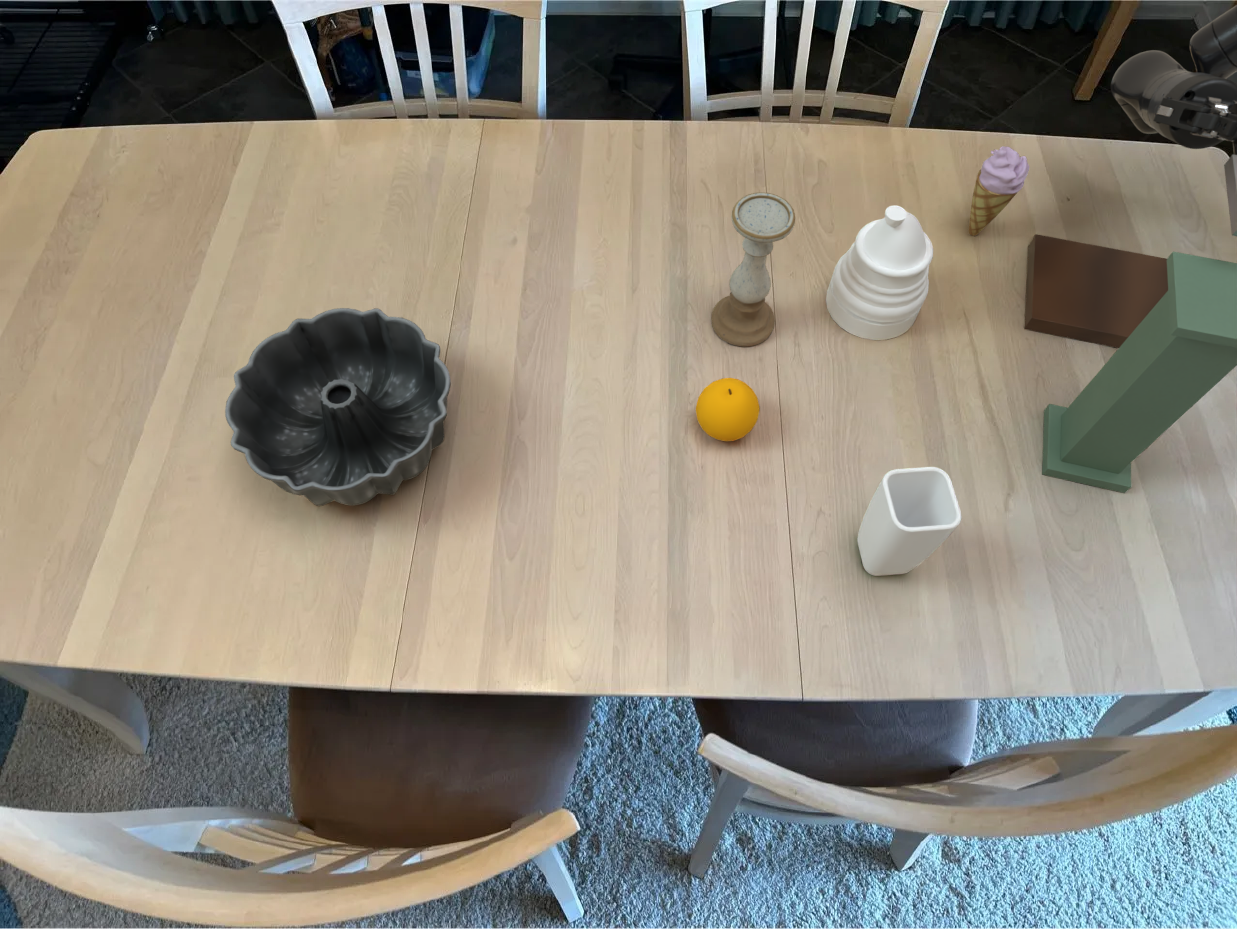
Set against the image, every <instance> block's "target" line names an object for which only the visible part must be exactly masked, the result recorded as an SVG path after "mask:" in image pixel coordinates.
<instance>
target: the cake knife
mask: <svg viewBox="0 0 1237 929" xmlns="http://www.w3.org/2000/svg"><path fill="white" fill-rule="evenodd" d="M1229 111H1230V112H1232V114H1236V115H1237V103H1236V104H1234V105H1233V106H1232V107H1231V108H1230V110H1229ZM1231 142H1232V148H1233V149H1232V150H1233V154H1231V156H1229V158H1228V159H1227V161H1225V163H1224V165H1223V169H1224V176H1225V178H1224V179H1225V186H1226V196H1227V204H1228V214H1229V223H1230V231H1231V236H1232V237H1237V142H1235V141H1231Z"/></svg>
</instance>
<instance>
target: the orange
mask: <svg viewBox="0 0 1237 929" xmlns="http://www.w3.org/2000/svg"><path fill="white" fill-rule="evenodd" d="M760 409H761V408H760V403H759V399H758V396H757V394H756V393H755V391H754V390H753V388H752V387H751V386H750V385H749V384H747V383H746V382H745V381H743V380H740V379H738V378H734V377H724V378H719V379H717V380H714V381H712V382H711V383H709V384H708V385H707V386H705V387H704V388H703V389H702V391H701V393H700V394H699V396H698V397H697V401H696V405H695V414H696V419H697V422H698V424H699V426H700V428H701V429H702V431H703V432H704V433H706V435H708V436H709V437H711V438H712V439H715V440H716V441H717V440H718V441H721V442H734V441H737V440H739V439H743V438H744V437H745V436H747V435H748V434H749V433H750V432H751V431H752V430H753V429H754V427H755V426H756V424H757V423H758V420H759V416H760V415H759V414H760V411H761V410H760Z"/></svg>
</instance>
